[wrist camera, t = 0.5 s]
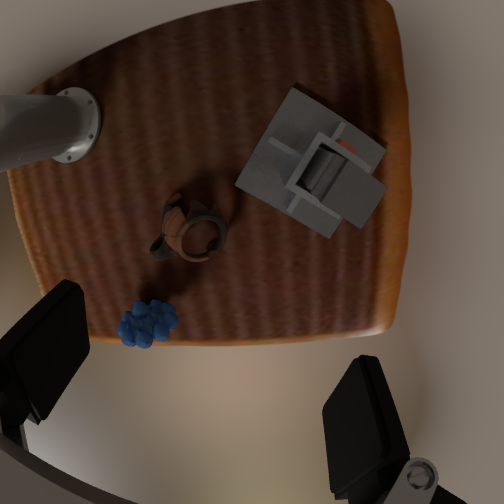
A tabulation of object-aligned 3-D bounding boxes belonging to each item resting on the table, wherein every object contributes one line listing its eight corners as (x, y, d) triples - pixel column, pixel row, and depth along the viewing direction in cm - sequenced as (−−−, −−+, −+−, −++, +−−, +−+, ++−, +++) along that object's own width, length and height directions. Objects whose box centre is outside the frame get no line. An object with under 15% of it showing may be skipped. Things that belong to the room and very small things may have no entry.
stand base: (234, 183, 41) (226, 202, 31) (291, 88, 35) (302, 73, 25) (327, 236, 44) (346, 269, 34) (383, 149, 38) (420, 158, 28)
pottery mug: (188, 173, 41) (206, 195, 35) (224, 212, 48) (245, 237, 42) (131, 229, 42) (138, 259, 36) (171, 260, 48) (184, 292, 42)
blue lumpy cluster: (178, 275, 47) (156, 318, 36) (191, 309, 50) (175, 355, 39) (121, 287, 49) (91, 327, 38) (136, 317, 51) (112, 360, 40)
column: (292, 170, 39) (318, 204, 22) (308, 143, 37) (348, 157, 20) (318, 186, 40) (361, 231, 22) (334, 160, 38) (390, 187, 21)
